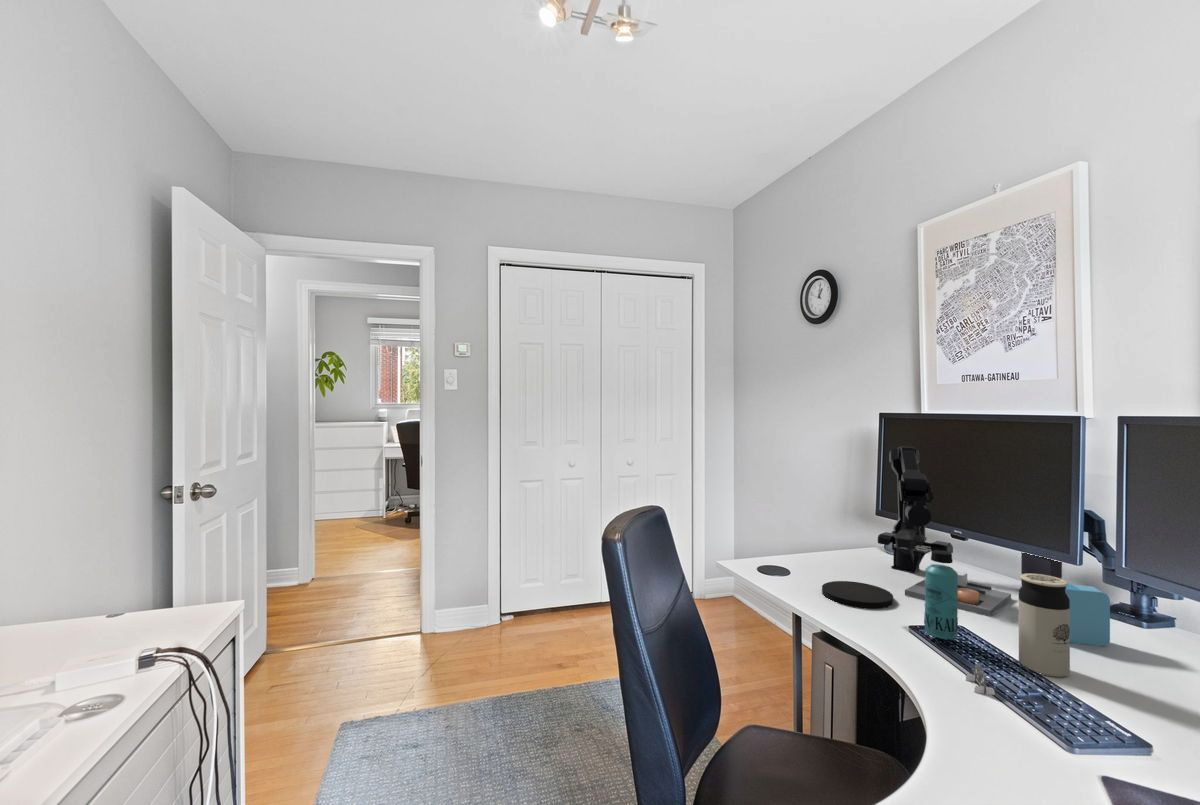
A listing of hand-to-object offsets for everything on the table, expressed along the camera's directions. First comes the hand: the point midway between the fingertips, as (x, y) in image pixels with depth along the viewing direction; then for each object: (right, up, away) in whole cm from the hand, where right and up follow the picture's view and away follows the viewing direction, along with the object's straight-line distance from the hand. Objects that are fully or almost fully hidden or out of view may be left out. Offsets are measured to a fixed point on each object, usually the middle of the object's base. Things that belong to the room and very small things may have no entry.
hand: (913, 572), depth 160 cm
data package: (+15, -4, -37) cm, 40 cm away
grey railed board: (+7, -4, -9) cm, 12 cm away
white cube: (+10, -2, -4) cm, 11 cm away
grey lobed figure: (-23, -4, -63) cm, 67 cm away
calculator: (+34, -5, -4) cm, 35 cm away
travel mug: (-4, -3, -51) cm, 52 cm away
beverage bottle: (-16, -4, -38) cm, 42 cm away
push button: (+5, -3, -16) cm, 17 cm away
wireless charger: (-22, -4, -10) cm, 24 cm away
